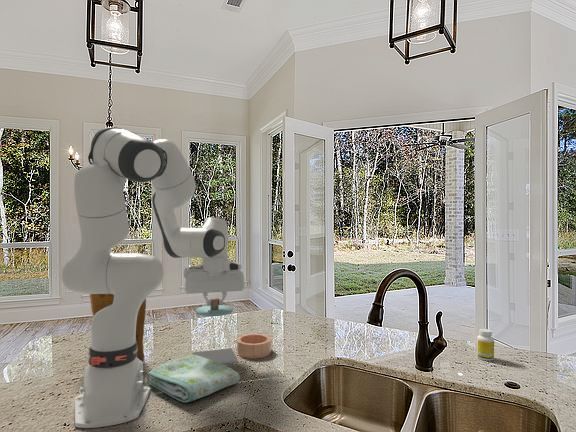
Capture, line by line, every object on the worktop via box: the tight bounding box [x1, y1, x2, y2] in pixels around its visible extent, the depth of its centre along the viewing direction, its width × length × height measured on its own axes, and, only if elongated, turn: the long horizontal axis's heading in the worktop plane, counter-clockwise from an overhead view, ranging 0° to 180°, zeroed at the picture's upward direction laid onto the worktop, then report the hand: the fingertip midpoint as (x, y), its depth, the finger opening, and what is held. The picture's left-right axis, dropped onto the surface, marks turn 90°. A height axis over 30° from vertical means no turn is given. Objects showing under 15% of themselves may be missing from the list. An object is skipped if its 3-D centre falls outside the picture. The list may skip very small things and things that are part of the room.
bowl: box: [235, 333, 272, 359], centre depth 139 cm, size 12×12×5 cm
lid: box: [195, 297, 234, 317], centre depth 133 cm, size 12×12×4 cm
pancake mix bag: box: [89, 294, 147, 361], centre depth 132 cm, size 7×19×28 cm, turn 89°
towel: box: [147, 354, 241, 403], centre depth 112 cm, size 18×21×5 cm
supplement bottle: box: [476, 328, 495, 362], centre depth 135 cm, size 5×5×10 cm
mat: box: [192, 348, 240, 365], centre depth 133 cm, size 14×14×1 cm
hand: (214, 305), depth 133 cm, fingers closed on lid, 3 cm apart
